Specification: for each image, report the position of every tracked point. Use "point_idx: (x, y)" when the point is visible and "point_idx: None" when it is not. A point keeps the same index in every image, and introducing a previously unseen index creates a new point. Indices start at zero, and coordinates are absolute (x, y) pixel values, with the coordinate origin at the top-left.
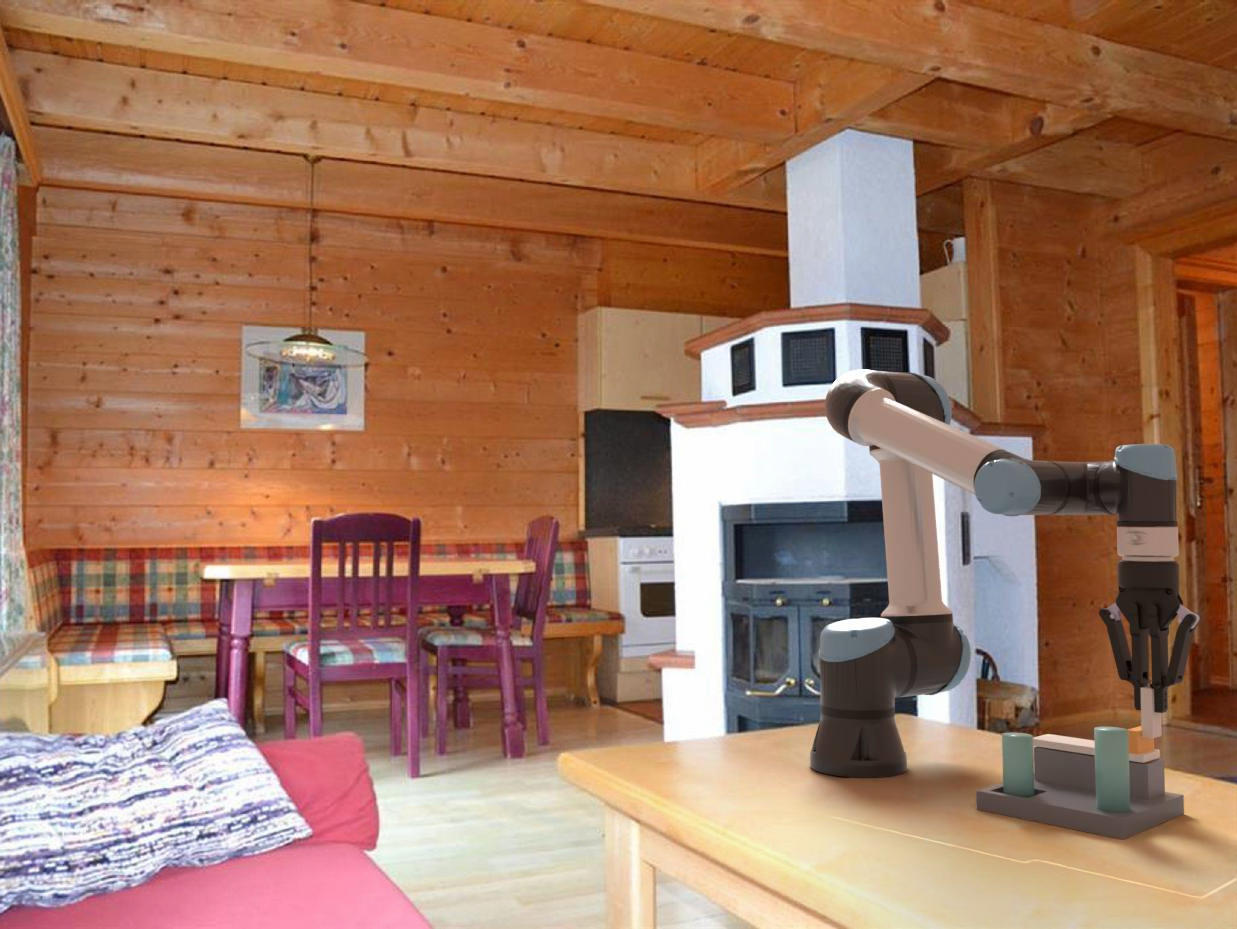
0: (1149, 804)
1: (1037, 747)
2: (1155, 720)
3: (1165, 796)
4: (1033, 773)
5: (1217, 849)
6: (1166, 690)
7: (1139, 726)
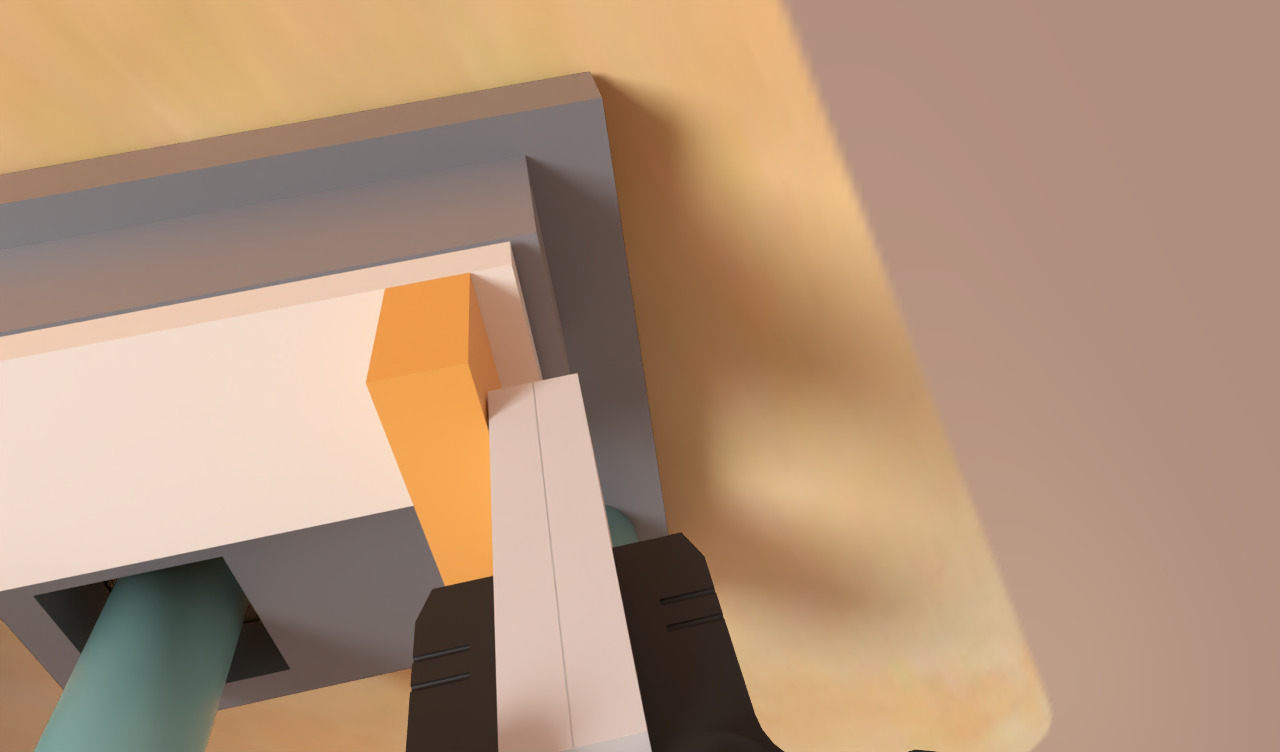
0: (619, 399)
1: None
2: (612, 547)
3: (568, 213)
4: (202, 681)
5: (901, 403)
6: (756, 733)
7: (395, 442)
